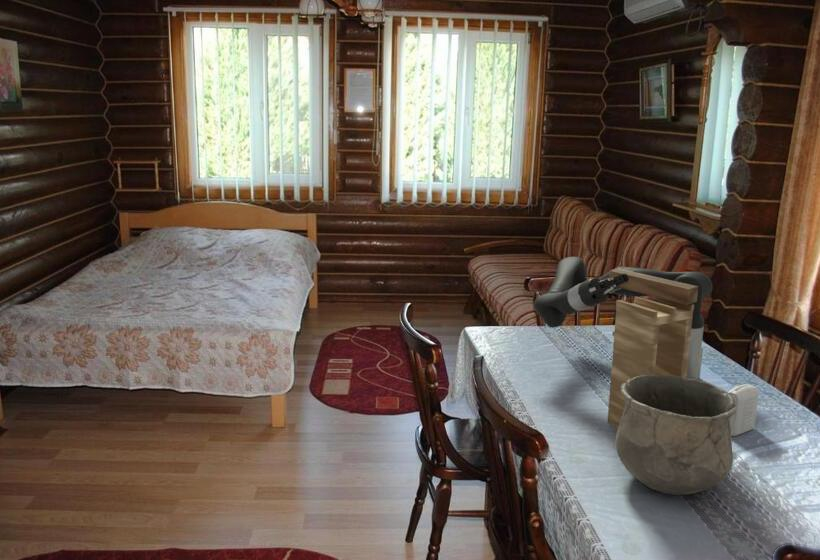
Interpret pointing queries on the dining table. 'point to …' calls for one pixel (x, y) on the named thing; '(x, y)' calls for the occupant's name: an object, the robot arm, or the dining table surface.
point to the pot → (675, 433)
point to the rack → (648, 344)
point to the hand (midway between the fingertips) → (631, 275)
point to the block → (657, 287)
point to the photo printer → (744, 408)
